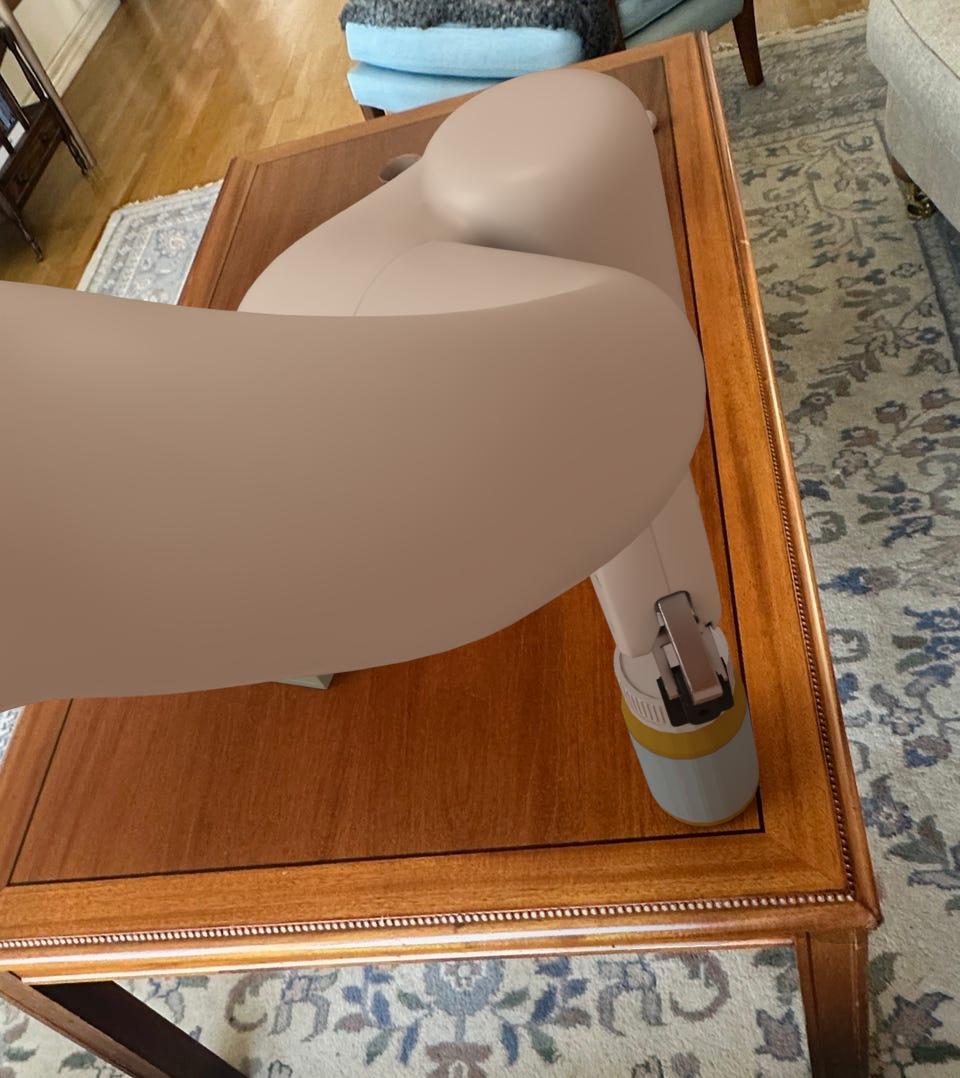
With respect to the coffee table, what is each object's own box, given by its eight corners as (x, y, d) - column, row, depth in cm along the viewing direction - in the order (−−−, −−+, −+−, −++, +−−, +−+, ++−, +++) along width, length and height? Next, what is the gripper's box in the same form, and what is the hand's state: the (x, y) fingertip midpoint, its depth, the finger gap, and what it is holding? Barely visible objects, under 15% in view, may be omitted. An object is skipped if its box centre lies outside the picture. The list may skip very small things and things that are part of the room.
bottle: (758, 728, 64) (736, 597, 53) (762, 831, 60) (739, 711, 49) (651, 730, 66) (609, 604, 55) (648, 829, 62) (601, 714, 51)
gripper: (471, 314, 45) (559, 541, 57) (570, 602, 33) (653, 807, 46) (627, 253, 44) (682, 496, 57) (783, 526, 33) (808, 755, 45)
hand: (669, 635), depth 51 cm, fingers open, 9 cm apart
